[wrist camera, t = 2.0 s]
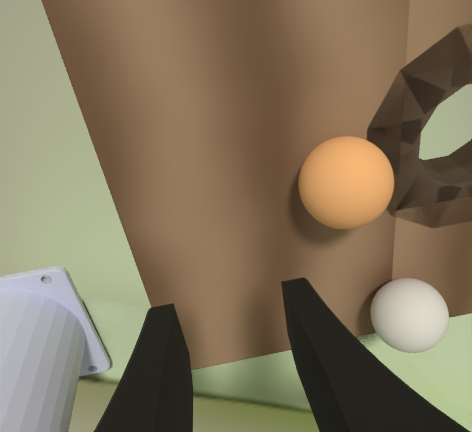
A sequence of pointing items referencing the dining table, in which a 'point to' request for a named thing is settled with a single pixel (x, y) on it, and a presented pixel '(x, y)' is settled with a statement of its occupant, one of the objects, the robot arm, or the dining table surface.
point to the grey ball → (409, 315)
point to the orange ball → (346, 182)
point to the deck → (271, 151)
